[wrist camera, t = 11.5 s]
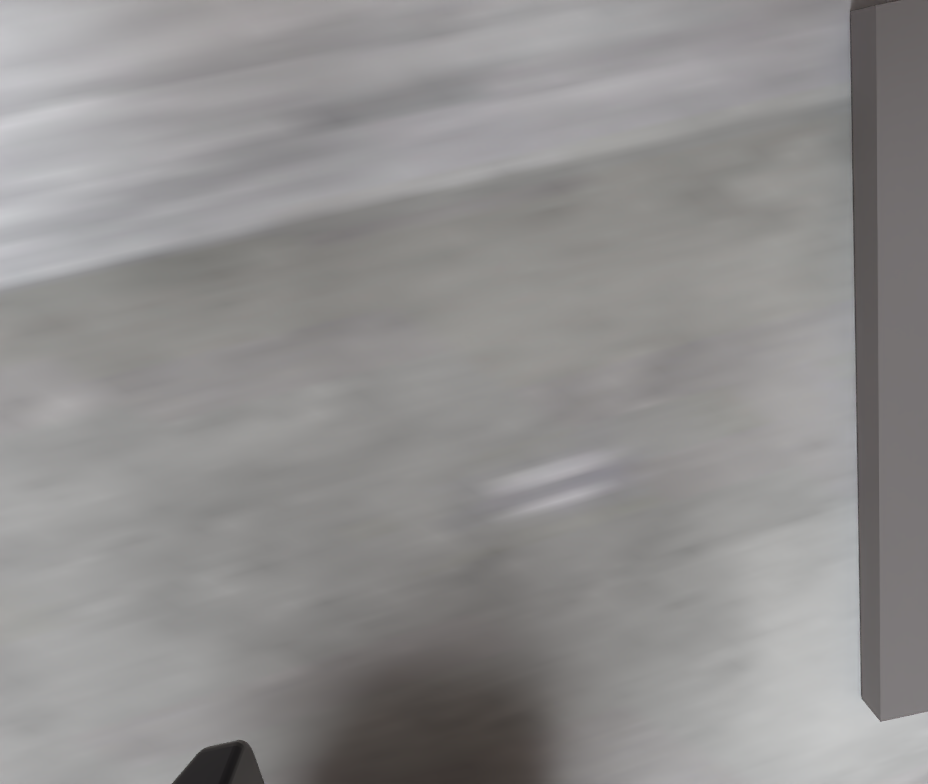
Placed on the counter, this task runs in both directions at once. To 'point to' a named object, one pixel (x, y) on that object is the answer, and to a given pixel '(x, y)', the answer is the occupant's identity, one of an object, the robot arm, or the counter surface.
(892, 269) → the peg stand
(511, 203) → the counter surface
